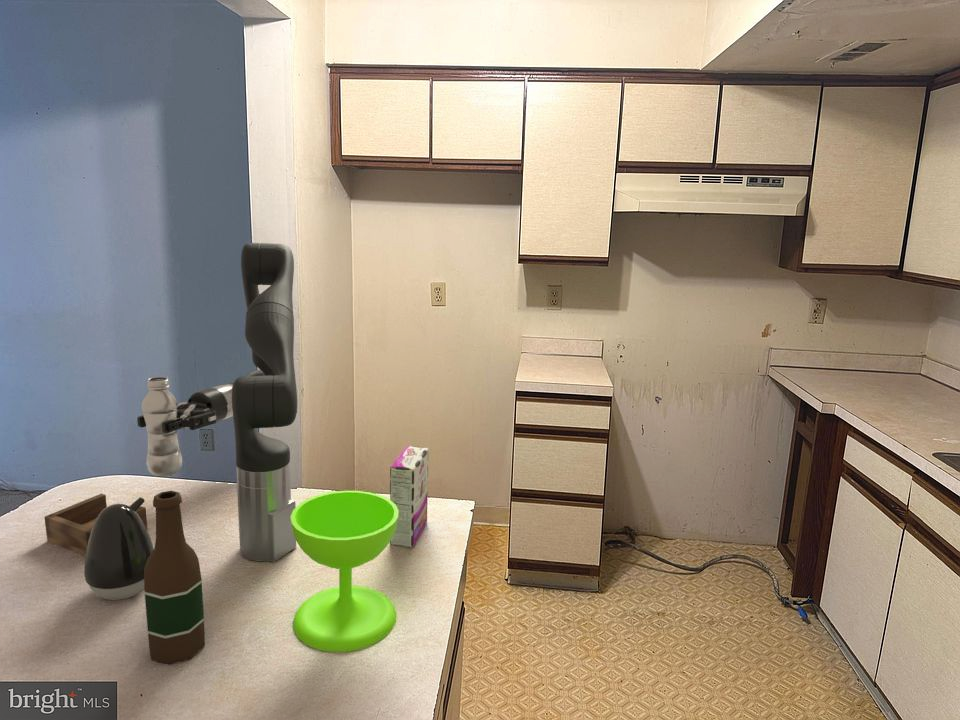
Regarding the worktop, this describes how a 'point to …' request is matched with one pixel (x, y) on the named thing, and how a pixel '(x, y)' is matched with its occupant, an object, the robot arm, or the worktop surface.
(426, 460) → the candy bar box
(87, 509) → the u rest
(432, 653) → the worktop surface
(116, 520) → the black egg-shaped dispenser
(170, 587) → the beer bottle
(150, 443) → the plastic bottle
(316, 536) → the wineglass
